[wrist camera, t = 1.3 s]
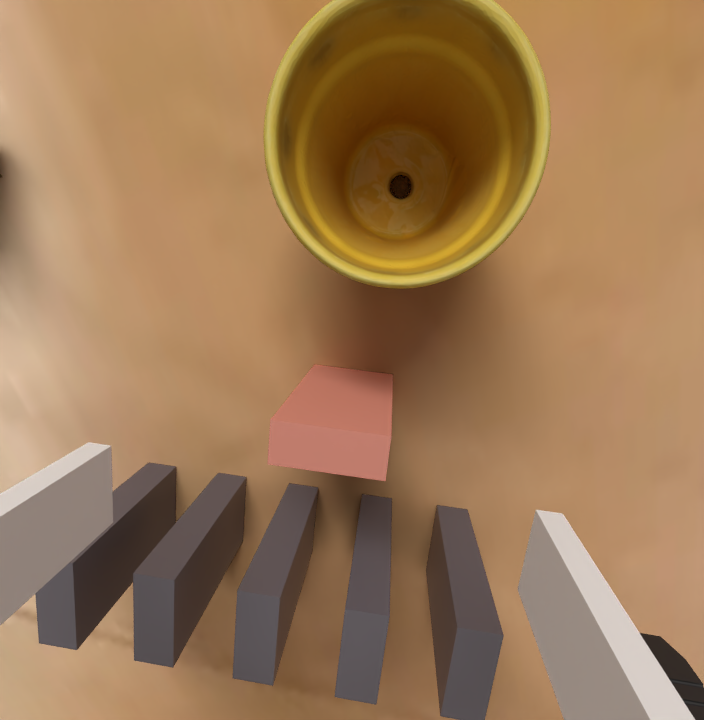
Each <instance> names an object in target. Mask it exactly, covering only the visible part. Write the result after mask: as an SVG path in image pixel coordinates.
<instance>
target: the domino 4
mask: <svg viewBox="0 0 704 720" xmlns="http://www.w3.org/2000/svg"><path fill="white" fill-rule="evenodd" d="M392 396H393V374H386V373H379V372H371V371H363V370H355V369H347V368H339V367H331V366H323V365H315V364H314V366H313V367H312V368H311V369H310V371H309V372H308V373H307V374H306V376H305V377H304V378H303V379H302V381H301V382H300V383H299V384H298V386H297V387H296V388H295V390H294V391H293V392H292V393H291V395H290V396H289V397H288V398H287V400H286V401H285V402H284V403H283V405H282V406H281V407H280V408H279V410H278V411H277V412H276V413H275V415H274V416H273V417H272V418H271V420H270V434H269V449H268V464H270V465H277V466H284V467H291V468H297V469H304V470H311V471H318V472H325V473H332V474H339V475H346V476H353V477H360V478H367V479H374V480H380V481H385V480H386V473H387V465H388V458H389V451H390V443H391V434H392Z"/></svg>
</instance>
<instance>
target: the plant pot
mask: <svg viewBox="0 0 704 720" xmlns="http://www.w3.org/2000/svg"><path fill="white" fill-rule="evenodd" d="M550 133H551V116H550V103H549V94H548V90H547V85H546V81H545V77H544V74H543V71H542V68H541V65H540V62H539V60H538V58H537V55H536V53H535V51H534V49H533V47H532V45H531V43H530V41H529V39H528V38H527V36H526V35H525V33H524V32H523V31H522V29H521V28H520V27H519V25H518V24H517V23H516V22H515V21H514V19H513V18H512V17H511V16H510V15H509V14H508V13H507V12H506V11H505V10H504V9H503V8H502V7H501V6H499V5H498V4H497V3H496V2H494V1H493V0H333V1H331V2H330V3H328V4H327V5H326V6H324V7H323V8H322V9H321V10H320V11H319V12H318V13H316V14H315V15H314V16H313V17H312V18H311V19H310V20H309V22H308V23H307V24H306V25H305V26H304V27H303V28H302V30H301V31H300V32H299V33H298V35H297V36H296V37H295V39H294V41H293V42H292V43H291V45H290V46H289V48H288V50H287V52H286V53H285V55H284V57H283V59H282V61H281V63H280V65H279V67H278V70H277V72H276V75H275V77H274V80H273V83H272V86H271V89H270V93H269V97H268V101H267V106H266V113H265V120H264V152H265V163H266V169H267V173H268V178H269V182H270V185H271V189H272V192H273V195H274V198H275V200H276V203H277V205H278V207H279V209H280V211H281V213H282V215H283V217H284V219H285V221H286V223H287V224H288V226H289V227H290V229H291V230H292V232H293V233H294V234H295V236H296V237H297V239H298V240H299V241H300V242H301V243H302V244H303V246H304V247H305V248H306V249H307V250H308V251H309V252H310V253H311V254H312V255H314V256H315V257H316V258H317V259H318V260H319V261H321V262H322V263H323V264H325V265H326V266H327V267H329V268H330V269H332V270H334V271H336V272H337V273H339V274H341V275H343V276H345V277H347V278H350V279H352V280H355V281H357V282H360V283H364V284H368V285H372V286H376V287H384V288H401V289H404V288H417V287H424V286H428V285H432V284H436V283H439V282H443V281H445V280H448V279H450V278H453V277H455V276H458V275H460V274H462V273H464V272H466V271H467V270H469V269H471V268H473V267H474V266H476V265H477V264H479V263H480V262H482V261H483V260H484V259H486V258H487V257H488V256H489V255H491V254H492V253H493V252H494V251H495V250H496V249H497V248H498V247H499V246H500V245H501V244H502V243H503V242H504V241H505V240H506V239H507V238H508V237H509V236H510V235H511V233H512V232H513V231H514V229H515V228H516V227H517V225H518V224H519V223H520V221H521V220H522V218H523V217H524V215H525V213H526V212H527V210H528V208H529V207H530V205H531V203H532V200H533V198H534V196H535V194H536V192H537V190H538V187H539V184H540V182H541V179H542V176H543V173H544V169H545V165H546V161H547V157H548V151H549V143H550ZM397 175H405V176H407V177H408V178H409V179H410V181H411V185H412V188H411V192H410V194H409V195H408V196H407V197H406V198H403V199H398V198H396V197H394V196H393V195H392V194H391V192H390V183H391V181H392V179H393V178H394V177H395V176H397Z"/></svg>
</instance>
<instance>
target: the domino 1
mask: <svg viewBox="0 0 704 720" xmlns="http://www.w3.org/2000/svg"><path fill="white" fill-rule="evenodd" d="M112 495H113V523H112V524H111V525H110V526H109V527H108V528H107V529H106V530H105V531H103V532H102V533H101V534H100V535H99V536H98V537H97V538H96V539H95V540H94V541H92V542H91V543H90V544H89V545H88V546H87V547H86V548H85V549H84V550H83V551H81V552H80V553H79V554H78V555H77V556H76V557H75V558H74V559H73V560H72V561H70V562H69V563H68V564H67V565H66V566H65V567H64V568H63V569H62V570H61V571H59V572H58V573H57V574H56V575H55V576H54V577H53V578H52V579H51V580H50V581H49V582H47V583H46V584H45V585H44V586H43V587H42V588H41V589H40V590H39V591H38V592H36V593H35V594H36V608H37V621H38V635H39V643H41V644H46V645H52V646H57V647H63V648H68V649H74V650H77V649H78V648H79V647H80V646H81V644H82V643H83V642H84V641H85V640H86V638H87V637H88V636H89V635H90V633H91V632H92V631H93V630H94V629H95V627H96V626H97V625H98V624H99V622H100V621H101V620H102V619H103V618H104V616H105V615H106V614H107V613H108V612H109V610H110V609H111V608H112V607H113V605H114V604H115V603H116V602H117V601H118V599H119V598H120V597H121V596H122V594H123V593H124V592H125V591H126V590H127V588H128V587H129V586H130V585H131V583H132V582H133V573H134V572H135V571H136V569H137V568H138V567H139V566H140V565H141V563H142V562H143V561H144V560H145V559H146V558H147V556H148V555H149V554H150V553H151V552H152V550H153V549H154V548H155V547H156V546H157V545H158V543H159V542H160V541H161V540H162V539H163V537H164V536H165V535H166V534H167V533H168V532H169V530H170V529H171V528H172V527H173V526H174V524H175V519H176V467H175V466H168V465H162V464H155V463H148V464H146V465H145V466H144V467H143V468H141V469H140V470H139V471H138V472H136V473H135V474H134V475H133V476H132V477H130V478H129V479H128V480H127V481H125V482H124V483H123V484H122V485H120V486H119V487H118V488H117V489H116V490H114V491H113V492H112Z"/></svg>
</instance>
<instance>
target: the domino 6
mask: <svg viewBox="0 0 704 720" xmlns="http://www.w3.org/2000/svg"><path fill="white" fill-rule="evenodd" d="M426 573H427V583H428V594H429V604H430V614H431V624H432V635H433V645H434V655H435V665H436V676H437V686H438V696H439V706H440V716H442V717H448V718H453V719H459V720H485V716H486V712H487V707H488V703H489V698H490V694H491V689H492V685H493V680H494V676H495V671H496V667H497V662H498V658H499V653H500V649H501V644H502V640H503V632H502V628H501V625H500V621H499V618H498V614H497V611H496V607H495V604H494V600H493V597H492V593H491V590H490V586H489V583H488V579H487V576H486V572H485V569H484V566H483V562H482V559H481V555H480V552H479V548H478V545H477V541H476V538H475V534H474V531H473V527H472V524H471V520H470V517H469V513H468V510H467V509H460V508H453V507H447V506H440V505H437V508H436V514H435V520H434V526H433V532H432V538H431V544H430V550H429V556H428V562H427V568H426Z"/></svg>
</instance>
